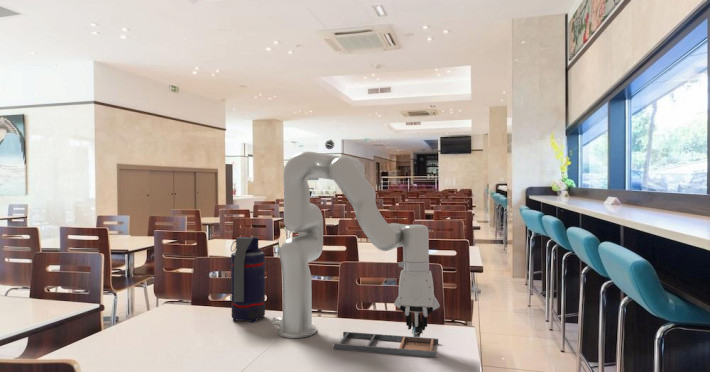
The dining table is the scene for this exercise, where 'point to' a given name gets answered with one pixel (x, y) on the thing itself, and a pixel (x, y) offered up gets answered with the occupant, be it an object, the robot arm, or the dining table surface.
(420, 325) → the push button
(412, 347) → the divided tray
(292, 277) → the robot arm
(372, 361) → the dining table surface
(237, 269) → the grenade
